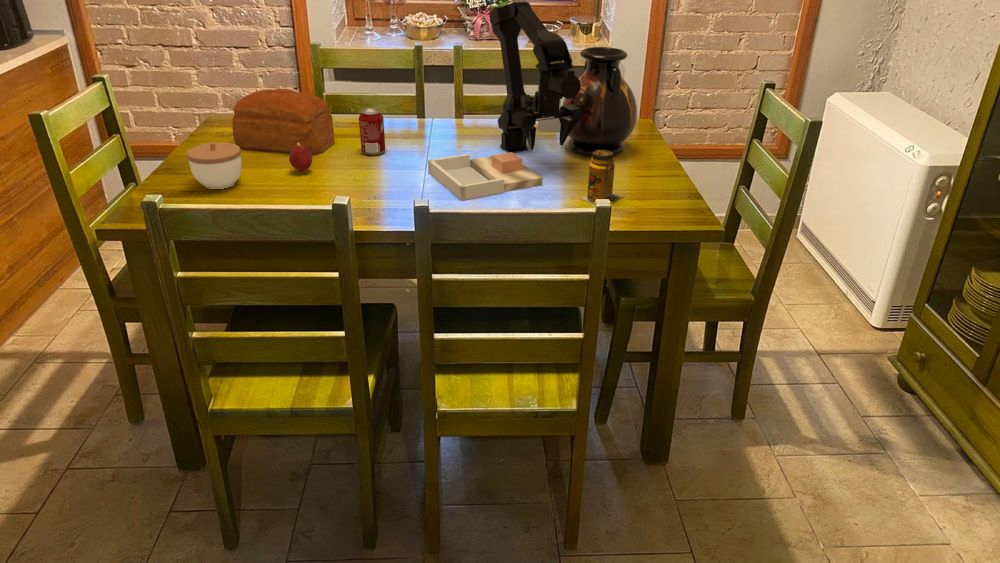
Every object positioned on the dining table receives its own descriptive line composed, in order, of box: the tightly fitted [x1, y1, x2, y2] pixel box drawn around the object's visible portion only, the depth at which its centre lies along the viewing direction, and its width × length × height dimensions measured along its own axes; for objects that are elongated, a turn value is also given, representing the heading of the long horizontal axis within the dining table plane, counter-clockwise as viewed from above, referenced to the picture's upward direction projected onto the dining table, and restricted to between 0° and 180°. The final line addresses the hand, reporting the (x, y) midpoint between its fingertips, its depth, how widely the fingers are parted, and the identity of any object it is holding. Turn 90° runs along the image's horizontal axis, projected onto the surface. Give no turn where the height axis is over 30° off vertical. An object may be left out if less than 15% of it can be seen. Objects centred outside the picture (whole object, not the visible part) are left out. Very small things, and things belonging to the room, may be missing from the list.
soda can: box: [358, 107, 386, 156], centre depth 206 cm, size 7×7×12 cm
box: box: [427, 153, 505, 201], centre depth 189 cm, size 12×21×4 cm, turn 27°
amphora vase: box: [561, 46, 638, 158], centre depth 207 cm, size 22×22×28 cm
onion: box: [289, 143, 313, 173], centre depth 193 cm, size 6×6×8 cm
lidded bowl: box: [186, 141, 243, 190], centre depth 183 cm, size 13×13×11 cm
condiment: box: [580, 150, 624, 204], centre depth 179 cm, size 7×8×12 cm
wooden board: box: [470, 155, 543, 193], centre depth 194 cm, size 11×20×2 cm, turn 27°
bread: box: [231, 88, 335, 155], centre depth 210 cm, size 16×27×16 cm, turn 77°
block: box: [491, 152, 524, 173], centre depth 193 cm, size 6×6×3 cm
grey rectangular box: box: [537, 99, 562, 133], centre depth 227 cm, size 4×7×10 cm, turn 87°
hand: (546, 147), depth 197 cm, fingers open, 9 cm apart
